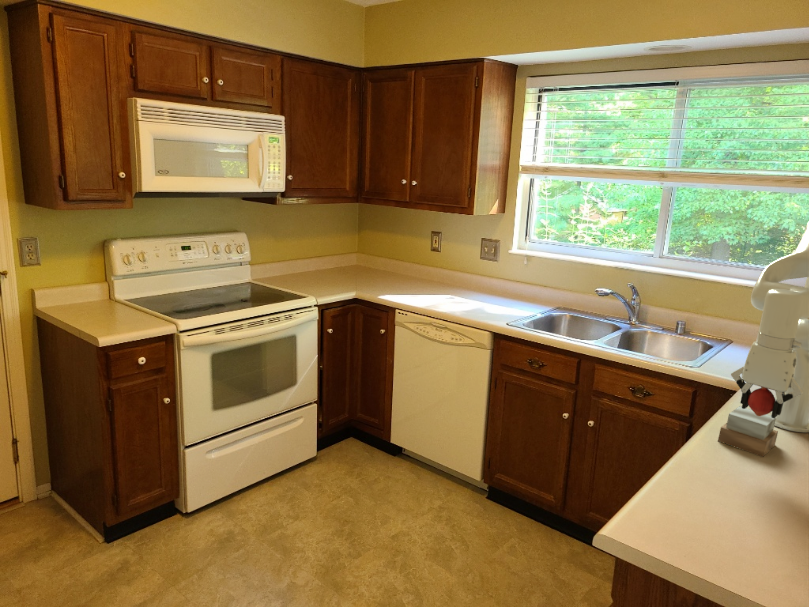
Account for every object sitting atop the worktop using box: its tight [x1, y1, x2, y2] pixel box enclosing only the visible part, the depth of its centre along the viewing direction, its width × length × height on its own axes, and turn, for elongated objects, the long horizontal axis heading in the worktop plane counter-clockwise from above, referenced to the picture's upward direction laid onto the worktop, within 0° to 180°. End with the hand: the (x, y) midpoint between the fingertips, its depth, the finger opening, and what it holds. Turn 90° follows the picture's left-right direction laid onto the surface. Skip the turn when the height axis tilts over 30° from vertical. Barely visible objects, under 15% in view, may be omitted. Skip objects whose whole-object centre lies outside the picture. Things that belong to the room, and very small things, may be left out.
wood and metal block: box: [717, 405, 779, 458], centre depth 162 cm, size 11×11×8 cm
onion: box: [748, 387, 776, 416], centre depth 147 cm, size 6×6×8 cm
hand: (759, 411), depth 148 cm, fingers closed on onion, 5 cm apart
